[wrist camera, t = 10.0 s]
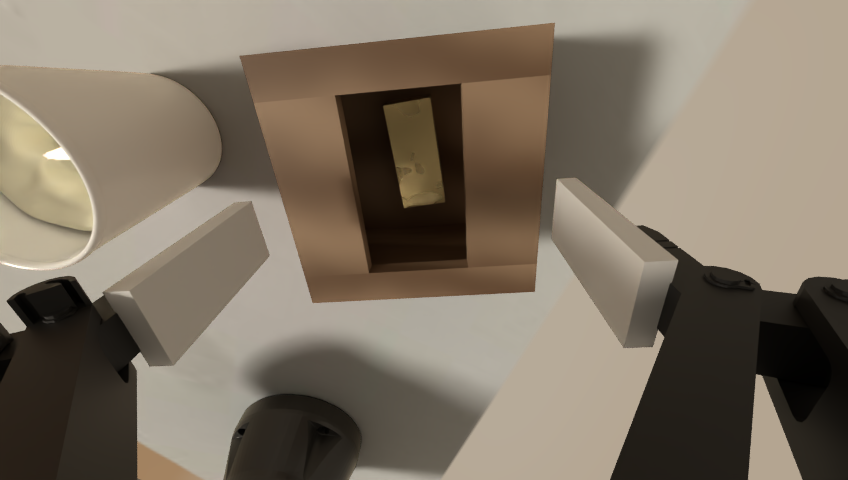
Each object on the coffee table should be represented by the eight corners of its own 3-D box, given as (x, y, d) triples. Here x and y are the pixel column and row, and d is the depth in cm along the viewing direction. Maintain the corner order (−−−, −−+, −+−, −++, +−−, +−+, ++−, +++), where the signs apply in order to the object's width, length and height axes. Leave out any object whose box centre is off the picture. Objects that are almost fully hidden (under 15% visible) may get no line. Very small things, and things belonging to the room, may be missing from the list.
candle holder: (237, 89, 24) (84, 109, 14) (229, 209, 29) (107, 293, 18) (93, 39, 23) (-196, 18, 13) (107, 171, 28) (-100, 238, 17)
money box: (507, 228, 29) (534, 291, 21) (346, 239, 30) (312, 303, 22) (512, 37, 22) (554, 22, 14) (307, 59, 23) (239, 55, 15)
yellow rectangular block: (430, 93, 24) (430, 97, 21) (444, 188, 27) (445, 202, 24) (389, 101, 24) (383, 105, 21) (407, 194, 27) (403, 208, 24)
